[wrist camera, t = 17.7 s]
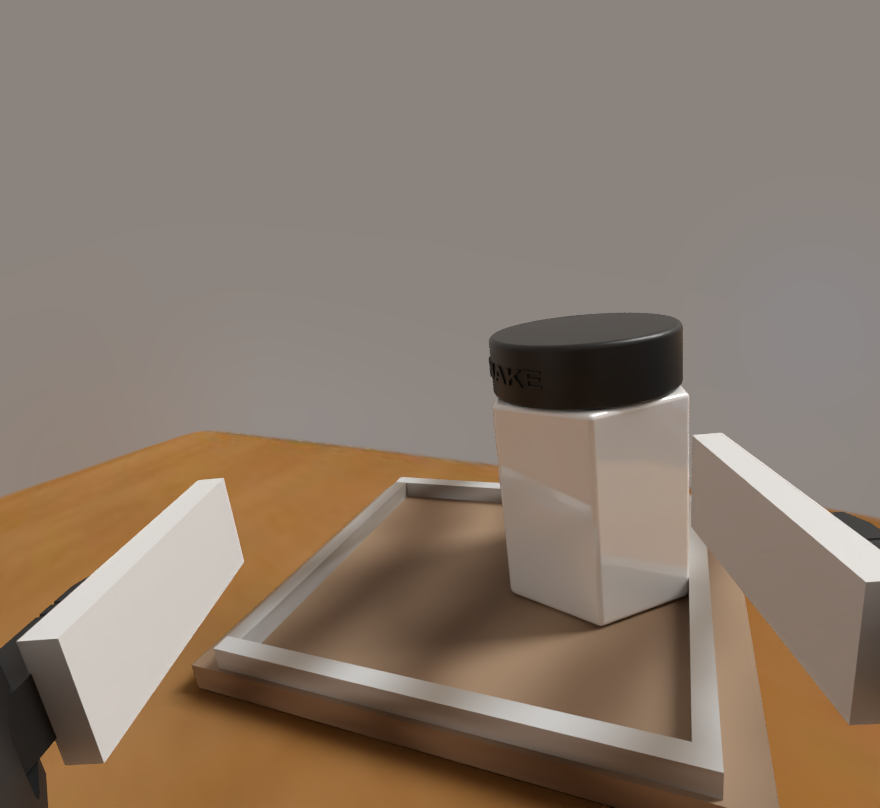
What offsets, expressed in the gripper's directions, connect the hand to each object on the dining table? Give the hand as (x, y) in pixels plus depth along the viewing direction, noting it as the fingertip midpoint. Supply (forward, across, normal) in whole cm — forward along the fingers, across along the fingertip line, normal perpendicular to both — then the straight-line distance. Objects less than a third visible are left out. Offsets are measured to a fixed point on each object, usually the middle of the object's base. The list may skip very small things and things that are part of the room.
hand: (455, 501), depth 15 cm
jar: (+10, +6, -9) cm, 15 cm away
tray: (+10, +1, -10) cm, 14 cm away
